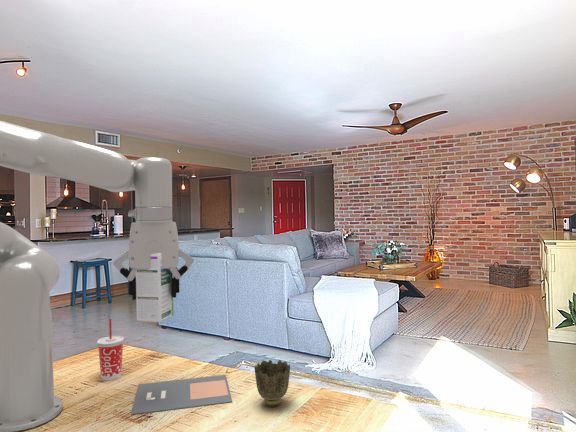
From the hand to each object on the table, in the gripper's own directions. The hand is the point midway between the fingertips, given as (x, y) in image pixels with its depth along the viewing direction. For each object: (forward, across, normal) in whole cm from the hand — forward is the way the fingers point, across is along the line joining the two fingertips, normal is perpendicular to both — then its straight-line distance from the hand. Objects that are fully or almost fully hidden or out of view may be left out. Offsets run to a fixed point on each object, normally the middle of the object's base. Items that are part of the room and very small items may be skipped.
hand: (154, 296), depth 88 cm
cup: (+22, +24, -10) cm, 34 cm away
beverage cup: (+22, -11, +14) cm, 28 cm away
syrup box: (+5, 0, 0) cm, 5 cm away
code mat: (+22, +6, 0) cm, 22 cm away
